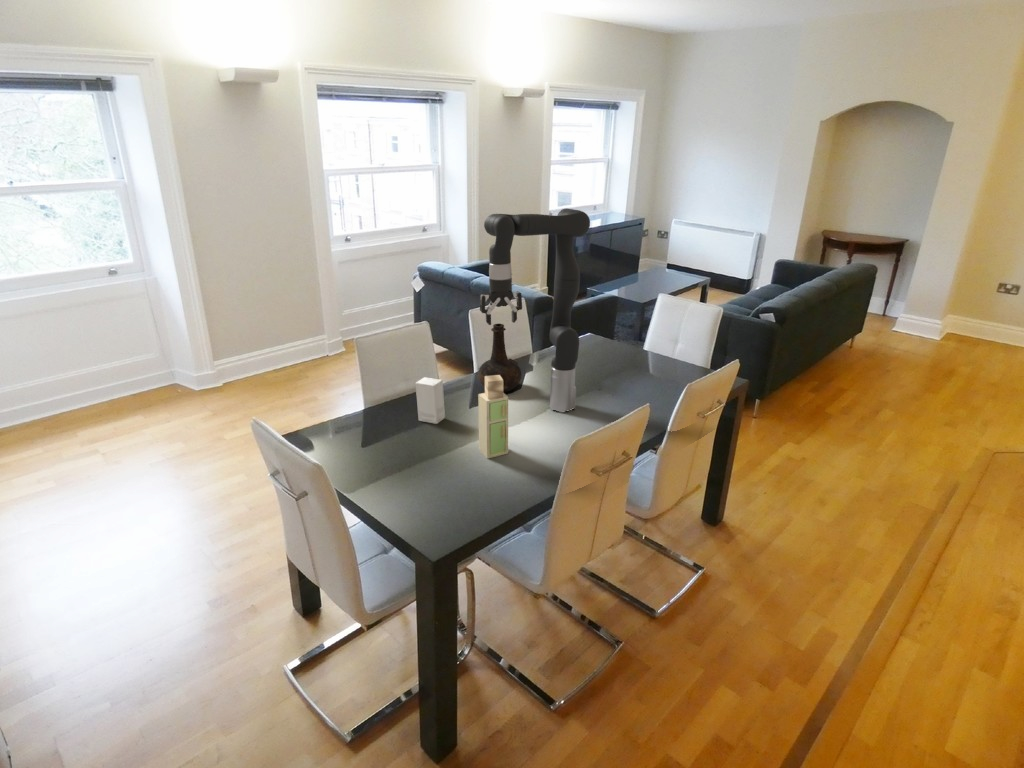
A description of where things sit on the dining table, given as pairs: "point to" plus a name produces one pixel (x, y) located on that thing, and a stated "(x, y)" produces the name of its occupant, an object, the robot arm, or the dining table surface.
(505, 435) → the toy refrigerator
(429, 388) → the skincare box
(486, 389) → the beech block
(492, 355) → the glass bottle
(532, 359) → the dining table surface
